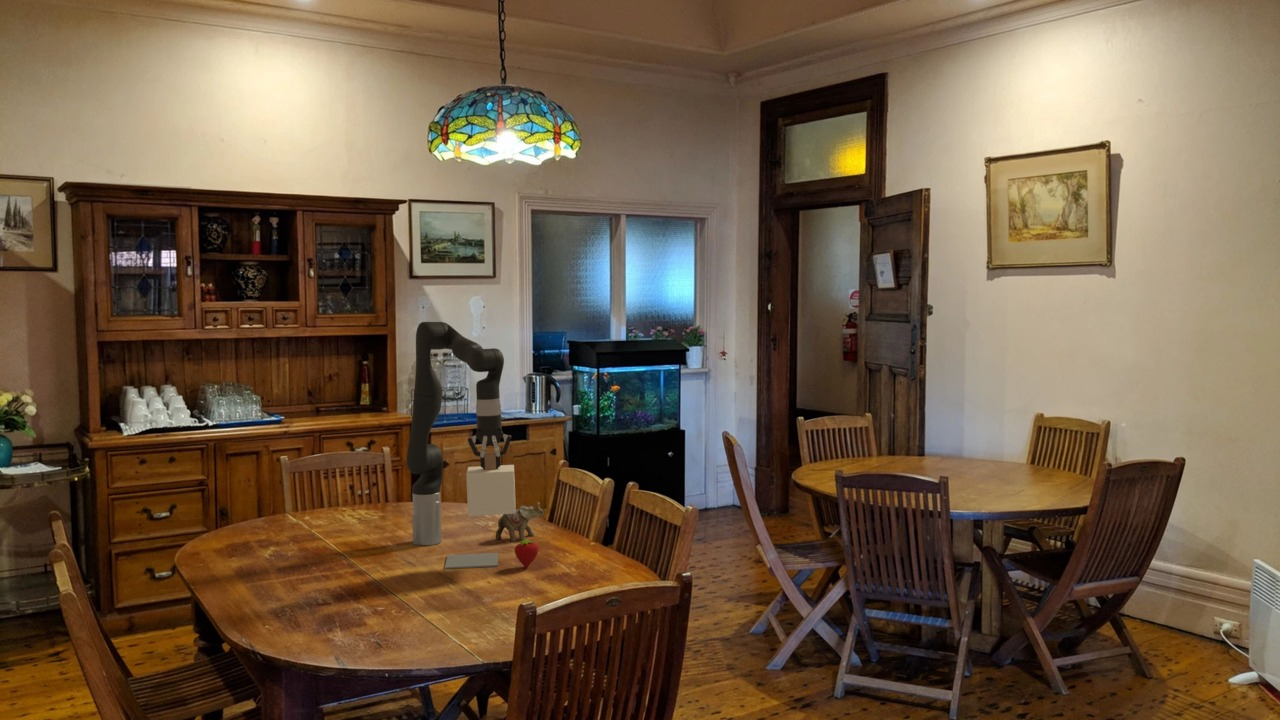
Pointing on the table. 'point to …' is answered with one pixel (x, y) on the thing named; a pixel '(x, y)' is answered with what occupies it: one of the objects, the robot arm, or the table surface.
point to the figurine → (518, 522)
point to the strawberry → (526, 551)
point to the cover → (490, 488)
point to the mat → (472, 560)
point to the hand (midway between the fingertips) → (490, 468)
